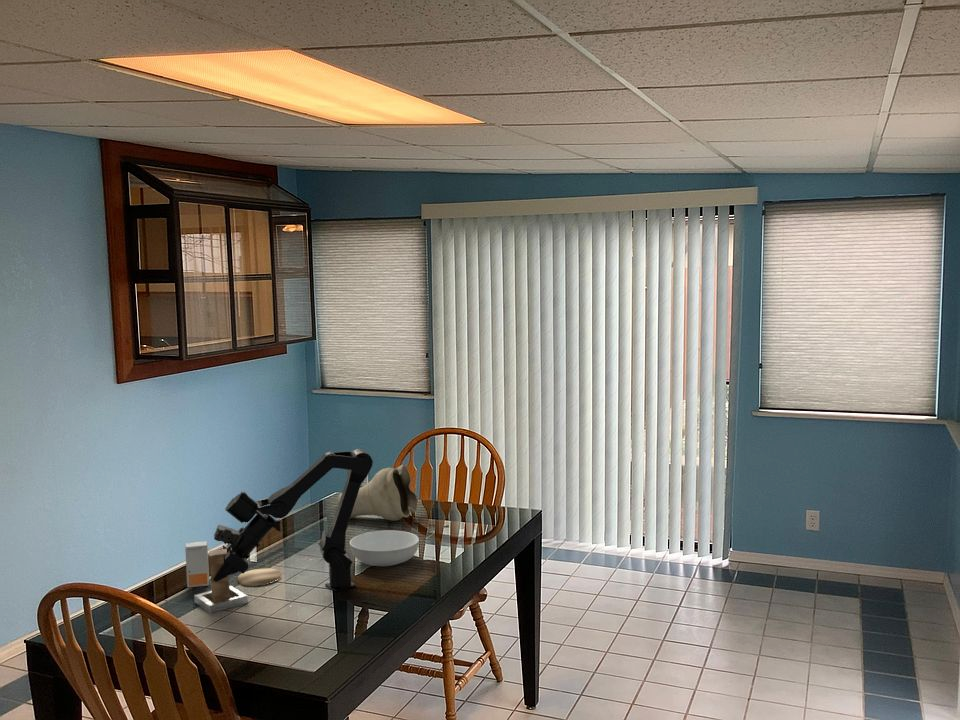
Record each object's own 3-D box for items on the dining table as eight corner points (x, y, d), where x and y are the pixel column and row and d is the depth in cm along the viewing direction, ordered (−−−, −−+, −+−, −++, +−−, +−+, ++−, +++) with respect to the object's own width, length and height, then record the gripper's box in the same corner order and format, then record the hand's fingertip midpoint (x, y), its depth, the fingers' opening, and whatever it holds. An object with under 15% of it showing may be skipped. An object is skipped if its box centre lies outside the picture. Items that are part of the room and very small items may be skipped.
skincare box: (187, 588, 253) (184, 547, 252) (187, 583, 257) (185, 542, 256) (209, 585, 255) (207, 544, 253) (209, 580, 259) (207, 540, 257)
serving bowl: (409, 575, 259) (408, 552, 258) (340, 572, 263) (339, 549, 262) (427, 552, 279) (426, 530, 278) (363, 549, 283) (362, 528, 283)
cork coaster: (288, 578, 258) (287, 575, 258) (249, 589, 251) (249, 585, 251) (269, 568, 268) (269, 565, 267) (231, 578, 260) (231, 575, 260)
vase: (310, 488, 307) (389, 470, 300) (333, 463, 329) (407, 445, 322) (333, 548, 312) (411, 531, 304) (354, 519, 334) (427, 503, 326)
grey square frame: (247, 602, 241) (247, 595, 240) (210, 613, 234) (209, 605, 234) (231, 592, 249) (231, 585, 249) (194, 602, 242) (194, 595, 242)
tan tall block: (229, 598, 244) (226, 548, 243) (230, 604, 240) (227, 553, 238) (212, 600, 243) (209, 550, 241) (212, 606, 239) (209, 555, 237)
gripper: (229, 506, 249) (190, 549, 247) (232, 524, 231) (190, 571, 229) (260, 530, 252) (222, 573, 250) (265, 549, 234) (224, 596, 232)
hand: (214, 577), depth 240 cm, fingers closed on tan tall block, 4 cm apart
